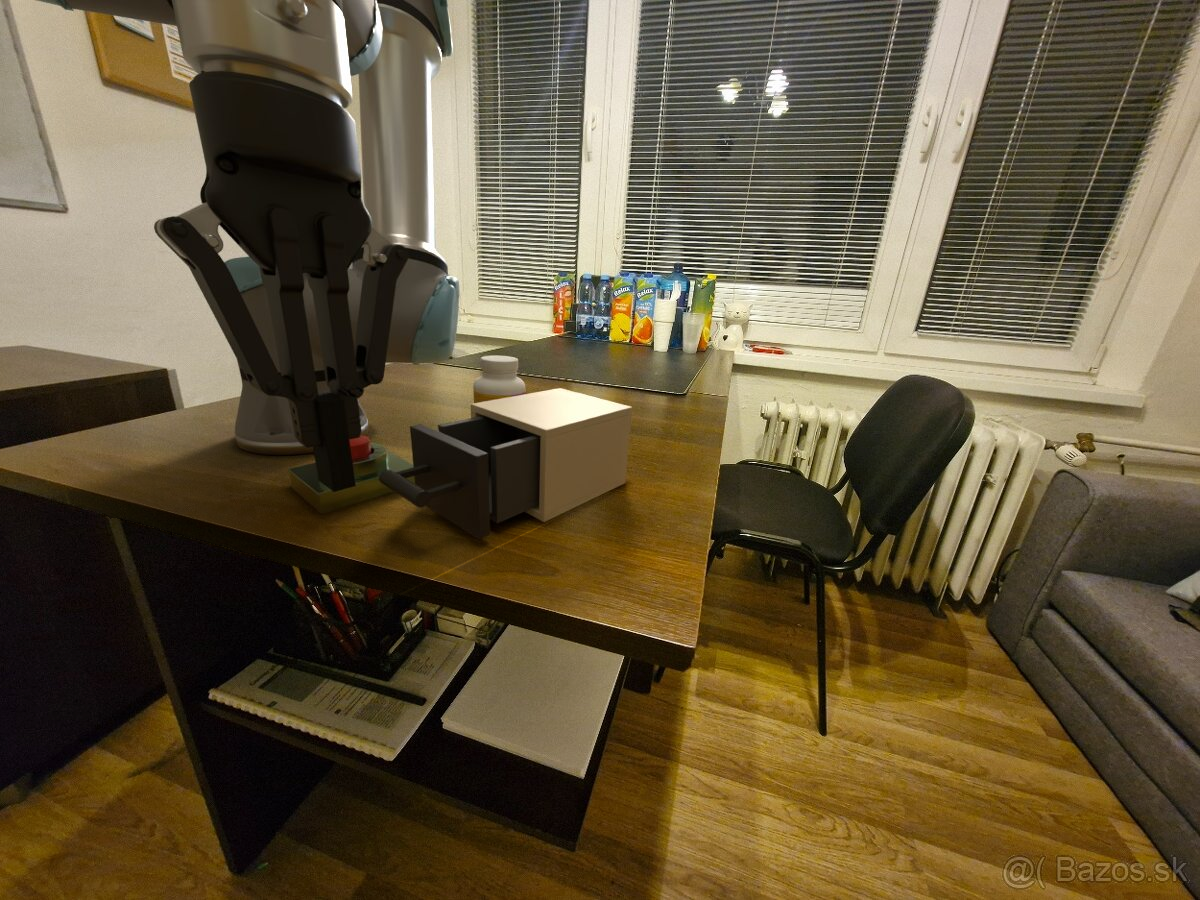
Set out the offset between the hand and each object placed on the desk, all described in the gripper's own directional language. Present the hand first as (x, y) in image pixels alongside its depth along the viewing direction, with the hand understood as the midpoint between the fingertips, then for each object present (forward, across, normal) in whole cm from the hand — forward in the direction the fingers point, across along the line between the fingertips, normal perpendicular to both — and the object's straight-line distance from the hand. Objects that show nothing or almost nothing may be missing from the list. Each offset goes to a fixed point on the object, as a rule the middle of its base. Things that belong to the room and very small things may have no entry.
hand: (336, 482), depth 32 cm
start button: (+4, +7, +14) cm, 16 cm away
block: (+7, +7, +14) cm, 17 cm away
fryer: (+7, +23, 0) cm, 24 cm away
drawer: (+6, +13, 0) cm, 14 cm away
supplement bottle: (+7, +25, +12) cm, 29 cm away
